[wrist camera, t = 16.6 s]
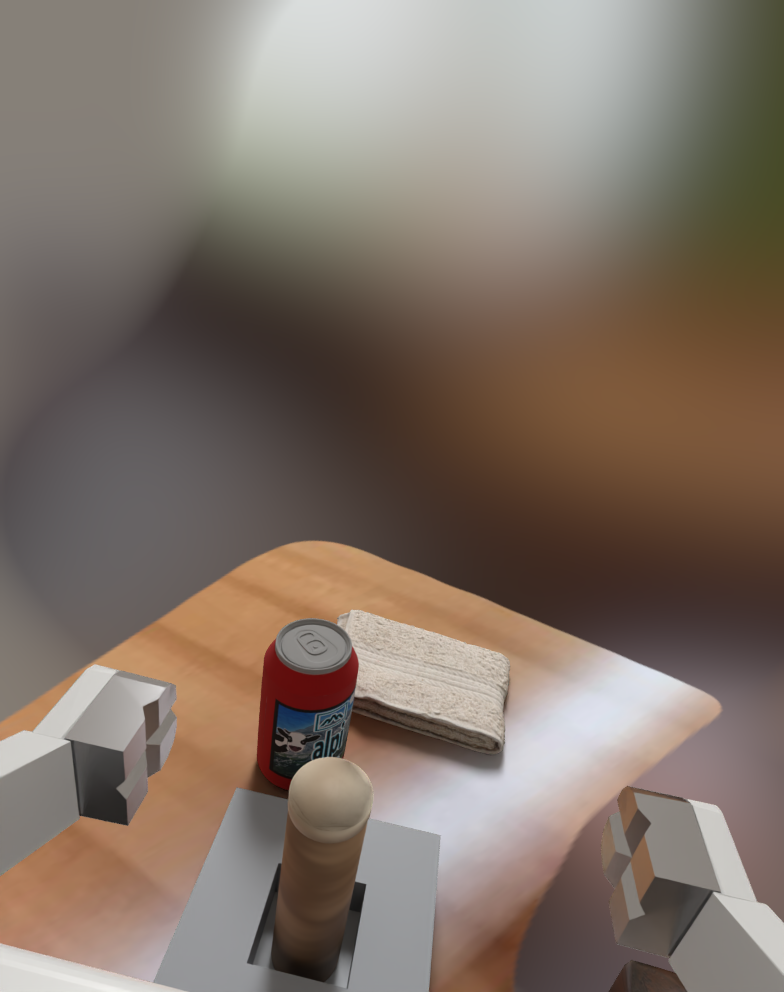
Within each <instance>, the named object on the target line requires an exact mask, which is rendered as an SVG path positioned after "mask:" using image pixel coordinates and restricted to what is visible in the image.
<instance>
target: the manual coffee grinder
mask: <svg viewBox="0 0 784 992" xmlns="http://www.w3.org/2000/svg"><path fill="white" fill-rule="evenodd" d="M609 992H687V990H686V989H685V987H684V985H683V984H682V982H681V981H680V979H679V977H678V976H677V974H676V973H674V972H671V971H667V970H664V969H661V968H657V967H654V966H651V965H647V964H644V963H640V962H636V961H633V960H631V961H630V962H628V963H627V964H625V965H624V967H623V969H622V970H621V972H620V973H619V975H618V977H617V978H616V980H615V982H614V984H613V985H612V987H611V988H610V990H609Z"/></svg>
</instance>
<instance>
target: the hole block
mask: <svg viewBox="0 0 784 992" xmlns="http://www.w3.org/2000/svg"><path fill="white" fill-rule="evenodd" d="M287 814H288V799H284V798H280V797H275V796H271V795H267V794H263V793H258V792H254V791H250V790H245V789H241V788H236V790H235V793H234V795H233V797H232V800H231V802H230V804H229V807H228V809H227V811H226V814H225V816H224V819H223V821H222V823H221V826H220V828H219V830H218V833H217V835H216V837H215V840H214V842H213V844H212V847H211V849H210V851H209V854H208V856H207V858H206V861H205V863H204V865H203V868H202V870H201V872H200V875H199V877H198V879H197V882H196V884H195V886H194V889H193V891H192V893H191V896H190V898H189V900H188V903H187V905H186V907H185V910H184V912H183V914H182V917H181V919H180V921H179V924H178V926H177V928H176V931H175V933H174V935H173V938H172V940H171V942H170V945H169V947H168V949H167V952H166V954H165V956H164V959H163V961H162V963H161V966H160V968H159V970H158V973H157V975H156V977H155V980H154V982H153V983H157V984H161V985H165V986H168V987H172V988H176V989H180V990H184V991H188V992H429V982H430V968H431V955H432V942H433V928H434V915H435V902H436V889H437V875H438V862H439V849H440V835H437V834H433V833H429V832H425V831H420V830H416V829H412V828H408V827H403V826H399V825H395V824H390V823H386V822H382V821H378V820H373V819H368V822H367V827H366V832H365V837H364V841H363V846H362V851H361V856H360V860H359V865H358V870H357V874H356V879H355V884H354V889H353V893H352V898H351V903H350V908H349V912H348V917H347V922H346V927H345V931H344V936H343V941H342V946H341V950H340V955H339V959H338V963H337V966H336V968H335V970H334V972H333V973H332V975H331V976H330V977H329V978H328V979H327V980H326V981H325V982H324V983H323V982H319V981H315V980H311V979H307V978H303V977H300V976H296V975H292V974H288V973H284V972H280V971H276V970H275V969H274V967H273V963H272V957H271V950H272V941H273V933H274V924H275V916H276V907H277V899H278V890H279V882H280V874H281V865H282V857H283V848H284V840H285V831H286V823H287Z"/></svg>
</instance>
